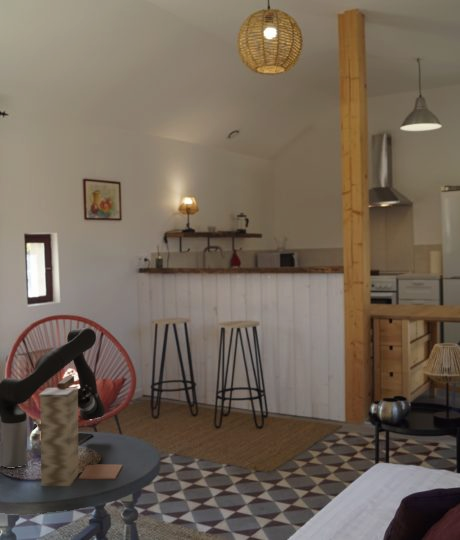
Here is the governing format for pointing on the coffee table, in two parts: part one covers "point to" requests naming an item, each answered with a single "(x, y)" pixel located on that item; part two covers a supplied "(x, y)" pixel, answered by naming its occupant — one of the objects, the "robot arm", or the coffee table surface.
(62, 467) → the stand
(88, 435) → the phone
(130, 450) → the coffee table surface
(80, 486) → the coffee table surface
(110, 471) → the tile
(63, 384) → the turner
